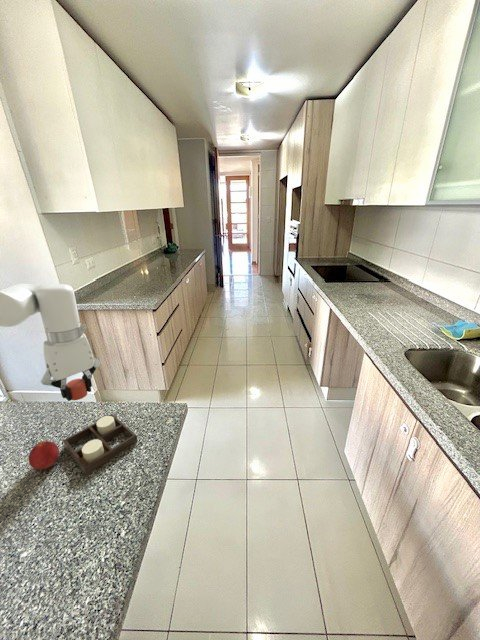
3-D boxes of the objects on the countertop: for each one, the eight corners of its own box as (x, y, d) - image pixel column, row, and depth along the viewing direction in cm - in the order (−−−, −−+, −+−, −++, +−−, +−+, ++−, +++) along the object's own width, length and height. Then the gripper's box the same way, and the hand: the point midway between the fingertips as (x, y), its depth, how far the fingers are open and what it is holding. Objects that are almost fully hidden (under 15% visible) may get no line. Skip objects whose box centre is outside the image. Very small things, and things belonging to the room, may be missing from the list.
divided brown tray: (65, 449, 68) (62, 440, 67) (113, 422, 78) (112, 413, 77) (87, 478, 61) (84, 468, 60) (137, 443, 70) (136, 435, 69)
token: (96, 433, 73) (93, 422, 71) (111, 424, 76) (109, 413, 74) (103, 441, 70) (101, 429, 69) (119, 431, 73) (117, 420, 72)
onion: (28, 480, 60) (18, 454, 57) (39, 459, 65) (30, 435, 62) (57, 474, 62) (48, 448, 59) (65, 454, 67) (58, 430, 64)
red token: (66, 395, 71) (63, 383, 70) (83, 388, 75) (80, 376, 73) (73, 402, 69) (70, 389, 68) (90, 394, 72) (87, 382, 71)
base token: (81, 459, 64) (78, 447, 63) (99, 448, 68) (97, 436, 66) (89, 469, 62) (86, 457, 60) (108, 457, 65) (105, 445, 64)
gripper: (92, 321, 74) (102, 376, 80) (18, 340, 61) (37, 403, 68) (105, 328, 69) (114, 385, 76) (28, 349, 57) (47, 416, 63)
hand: (78, 393), depth 72 cm, fingers closed on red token, 4 cm apart
